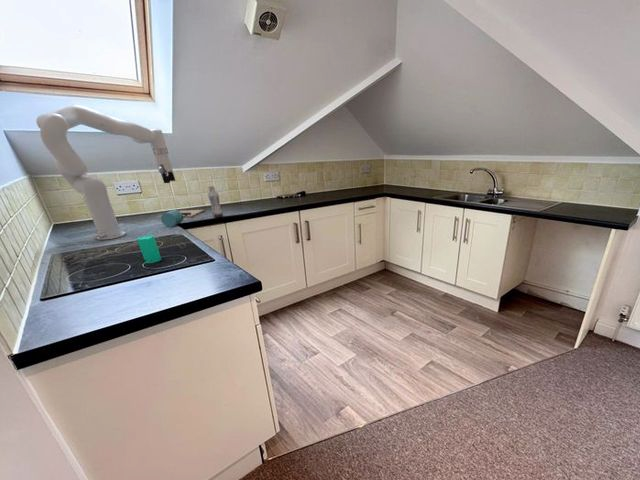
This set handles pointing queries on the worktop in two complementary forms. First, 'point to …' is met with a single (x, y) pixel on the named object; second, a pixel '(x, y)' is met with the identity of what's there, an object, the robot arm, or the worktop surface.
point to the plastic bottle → (215, 202)
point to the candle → (149, 248)
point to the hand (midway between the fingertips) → (169, 181)
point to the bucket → (173, 218)
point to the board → (193, 213)
